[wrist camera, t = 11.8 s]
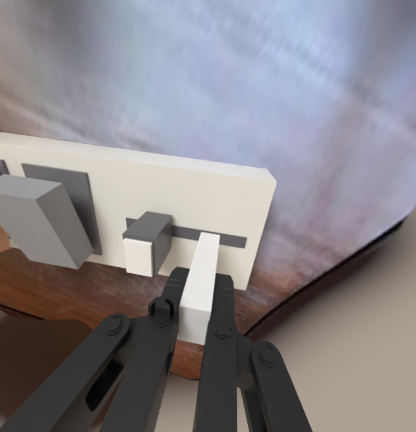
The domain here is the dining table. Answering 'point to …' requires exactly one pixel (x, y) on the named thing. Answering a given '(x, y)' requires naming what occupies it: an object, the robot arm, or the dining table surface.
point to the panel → (151, 198)
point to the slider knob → (147, 243)
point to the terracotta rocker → (4, 240)
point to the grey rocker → (43, 221)
